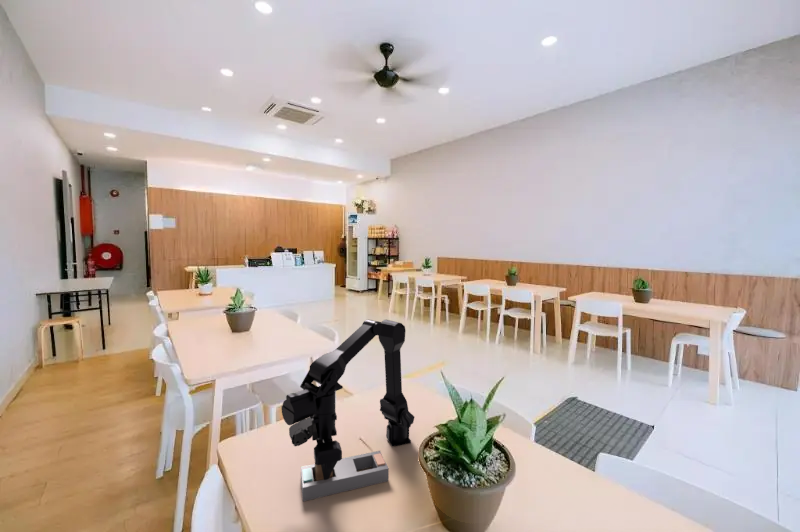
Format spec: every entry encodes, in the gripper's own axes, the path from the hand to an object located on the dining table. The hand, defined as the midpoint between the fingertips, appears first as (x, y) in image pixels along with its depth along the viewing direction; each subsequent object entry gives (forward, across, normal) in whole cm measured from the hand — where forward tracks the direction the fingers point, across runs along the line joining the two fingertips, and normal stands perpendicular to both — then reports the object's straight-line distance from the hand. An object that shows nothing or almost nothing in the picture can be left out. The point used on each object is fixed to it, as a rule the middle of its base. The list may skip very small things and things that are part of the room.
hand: (323, 467), depth 86 cm
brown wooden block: (+5, 0, 0) cm, 5 cm away
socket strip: (+5, 0, +6) cm, 7 cm away
